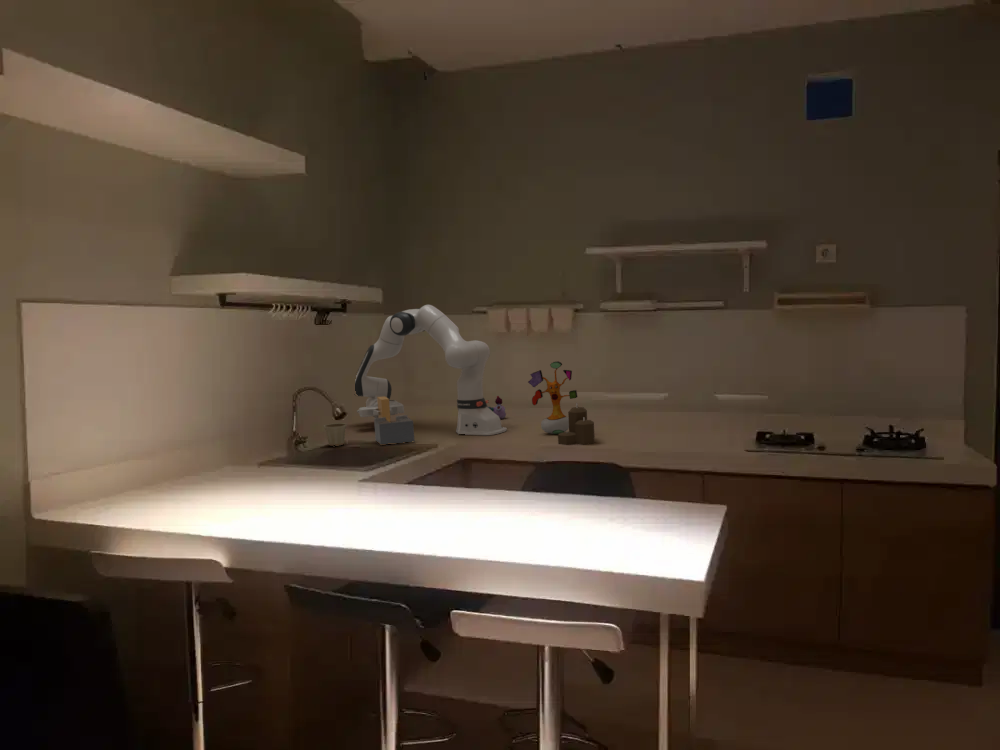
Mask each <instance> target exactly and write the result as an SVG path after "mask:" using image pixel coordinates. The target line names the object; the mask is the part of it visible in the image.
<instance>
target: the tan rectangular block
mask: <svg viewBox="0 0 1000 750" xmlns="http://www.w3.org/2000/svg"><path fill="white" fill-rule="evenodd" d="M389 400H390V399H388V398H387V397H385V396H383V397H377V403H378V411H380V414H381V415H378V417H379V418H382V417H386V420H387V421H389V422H392V421H391V415H390V406H389Z"/></svg>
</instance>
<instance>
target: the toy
mask: <svg viewBox="0 0 1000 750" xmlns="http://www.w3.org/2000/svg"><path fill="white" fill-rule="evenodd" d="M495 398H496V399H495V401H494V403H495V404H496V405H493V406H491V405H487V407H488V408H489V409H490V410H492V411H493V412H494V413H495V414H496V415H498V416H499V418H500V420H503V419H505V418H506V417H507V412H506V407H505V406H504V405H503V398H501V397H500V396H499V395H497V396H496V397H495Z"/></svg>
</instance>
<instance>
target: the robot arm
mask: <svg viewBox="0 0 1000 750" xmlns="http://www.w3.org/2000/svg"><path fill="white" fill-rule="evenodd" d="M421 332H426V334H428V335H429V336H430V337H431V338H432V339H433V340H434V341H435V342H436V343H437V344H439V346H440V347H441V348H442V350H443V353H444V355H445V356H444V358H445V359H444V360H445V362H446V364H447V365H448V366H449V367H451V368H453V369H461V371H460V375H459V377H458V379H457V381H456V388H457V389H456V391H457V400H456V407H457V424H456V430H455V432H456V433H457V435H459V434H465V435H469V436H493V435H494V436H495V435H497V434H501V433H502V434H503V433H504V432H507V427H506V426H505V427H504V426H502V421H501V419H500V418H499V416H498V415H496V414H495V413H494V412H493V411H492V410H490V409H489V408H488V407H487V406H488V403H489V400H488V399H487V400H485V398H484V373H485V369H486V367H485V366H486V363H487V362H488V360H489V358H490V354H491V349H490V347H489V344H487V343H486V342H484V341H481V340H477V339H476V340H475V339H474V340H468V341H467V340H465V339H464V338H463V336H461V334H460V328H459V327H458V325H456V324H455V323H454V322H453V321H452V320H451V319H450V318H449V317H448V316H447V315H446V314H445V313H443V312H442V311H441V310H440V309H438V308H437V307H436V306H434V305H432V304H425V305H422V306H421V307H419V308H418V307H417V308H412V309H406V310H402V311H398V312H396V313H394V314H393V315H390V316H388V317H387V318H386V319H385V321H384V323H383V325H382V327H381V330H380V334H379V338H378V339H377V340H376V342H374V344H372V345H370V346H369V347H368V348H367V350H366V351H365V355H364V356H363V358H362V360H361V362H360V364H359V367H358V368H357V371H358V372H357V371H356V373H357V375H356V374H355V375H356V379H355V391H356V394H357V395H358V396H357V397H367V399H366V401H365V403H366V407H365V406H363V407H362V406H361V407H359V408H358V410H356V412H357V413H358V415H359V417H360V418H365V417H367V418H368V417H373V418H379V417H378V415H381V414H380V411H378V403H377V397H383V396H385V397H387V398H388V399H389V406H390V416H394V415H398V414H404V413H405V405H404V404H403V403H401V402H399V401H398V400H395V399H391V397H392V385H391V383H390V381H389V379H387V378H384V377H383V378H382V377H374V376H369V375H368V372H369V371H370V369H371V366H372V364H373V363H375V362H376V361H379V360H384V359H390V358H393V357H395V356H397V355H398V354H399V353H400V352H401V350H402V348H403V345H404V340H405V337H406V336H407V335H415V334H420V333H421Z"/></svg>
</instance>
